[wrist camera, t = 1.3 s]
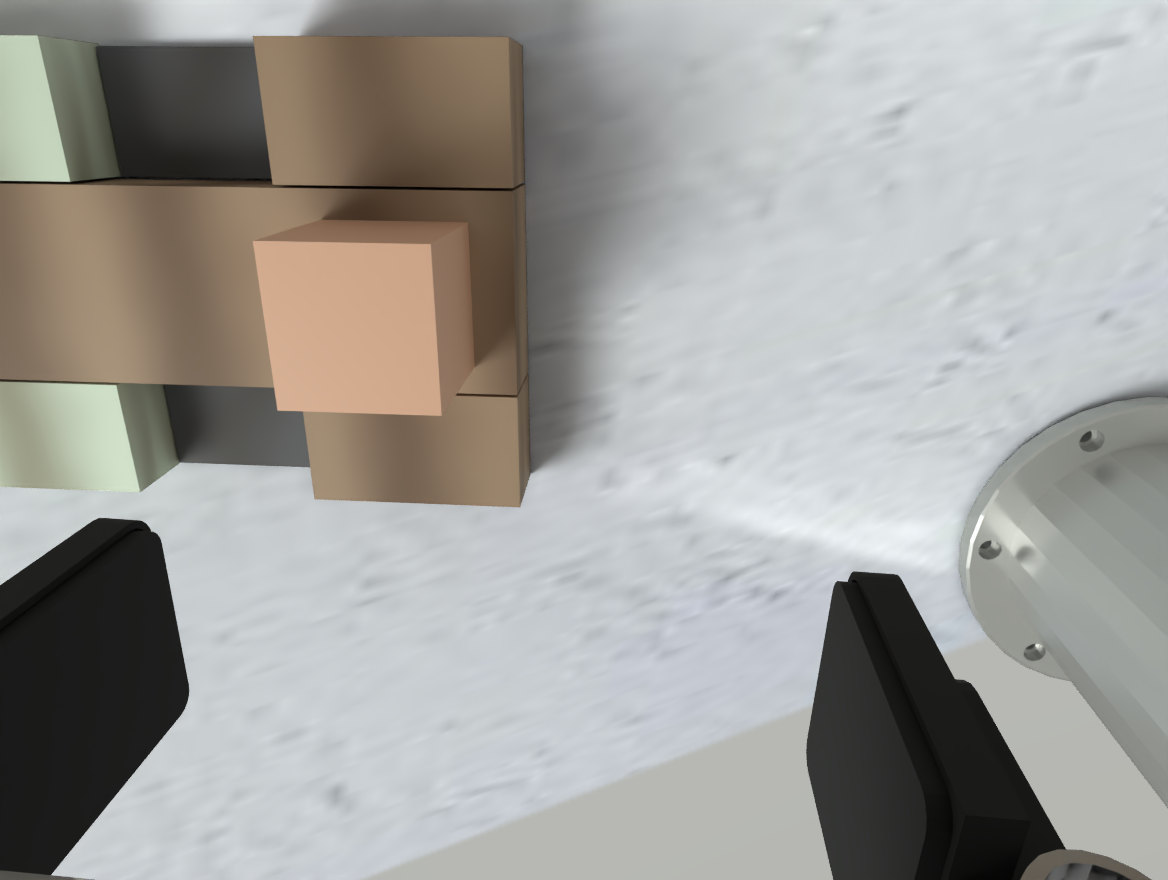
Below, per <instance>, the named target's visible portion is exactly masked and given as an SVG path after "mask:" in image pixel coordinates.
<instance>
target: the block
mask: <svg viewBox="0 0 1168 880" xmlns="http://www.w3.org/2000/svg"><path fill="white" fill-rule="evenodd" d="M253 246H254V253H255V260H256V267H257V273H258V280H259V287H260V294H261V301H262V308H263V314H264V321H265V328H266V335H267V342H268V349H269V356H270V362H271V369H272V376H273V383H274V390H275V397H276V403H277V410H278V411H305V412H336V413H367V414H397V415H428V416H442V415H443V413H444V412H445V410H446V409H447V407H448V406H449V404H450V403H451V401H452V400H453V398H454V397H455V395H456V394H457V392H458V391H459V390H460V388H461V387H462V385H463V384H464V382H465V381H466V379H467V378H468V376H469V375H470V373H471V372H472V370H473V369H474V367H475V363H474V340H473V318H472V296H471V274H470V252H469V230H468V222H424V221H367V220H318V221H315V222H312V223H309V224H305V225H302V226H299V227H296V228H292V229H289V230H286V231H283V232H280V233H276V234H273V235H270V236H267V237H263V238H260V239H257V240H254V241H253Z"/></svg>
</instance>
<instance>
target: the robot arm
mask: <svg viewBox="0 0 1168 880" xmlns="http://www.w3.org/2000/svg"><path fill="white" fill-rule="evenodd" d="M959 574H960V579H961V585H962V590H963V594H964V596H965V598H966V601H967V603H968V605H969V607H970V609H971V612H972V614H973V616H974V617H975V618H976V620H977V621H978V623H979V624H980V626H981V627H982V628H983V630H984V632H985V633H986V635H987V636H988V637H989V638H990V639H991V640H992V641H993V642H994V643H995V644H996V645H997V646H998V647H999V648H1000V649H1001V650H1002V651H1003V652H1004V653H1005V654H1007V655H1008V656H1009V657H1011V658H1012V659H1014V660H1015V661H1017V662H1018V663H1020V664H1021V665H1023V666H1025V667H1027V668H1029V669H1032V670H1034V671H1037V672H1040V673H1042V674H1044V675H1047V676H1049V677H1053V678H1058V679H1063V680H1067V681H1071V682H1072V683H1073V685H1074V686H1075V687H1076V689H1077V690H1078V691H1079V693H1080V694H1081V695H1082V696H1083V698H1084V699H1085V700H1086V702H1087V703H1088V704H1089V706H1090V707H1091V708H1092V710H1093V711H1094V712H1095V714H1096V715H1097V716H1098V717H1099V719H1100V720H1101V721H1102V723H1103V724H1104V725H1105V727H1106V728H1107V729H1108V731H1109V732H1110V733H1111V734H1112V736H1113V737H1114V738H1115V740H1116V741H1117V742H1118V744H1119V745H1120V746H1121V747H1122V749H1123V750H1124V751H1125V753H1126V754H1127V756H1128V757H1129V758H1130V759H1131V761H1132V762H1133V763H1134V765H1135V766H1136V767H1137V769H1138V770H1139V771H1140V772H1141V774H1142V775H1143V776H1144V778H1145V779H1146V780H1147V782H1148V783H1149V784H1150V786H1151V787H1152V788H1153V789H1154V791H1155V792H1156V794H1157V795H1158V796H1159V797H1160V799H1161V800H1162V801H1163V803H1164V804H1165V805H1166V806H1167V808H1168V397H1144V398H1137V399H1130V400H1122V401H1115V402H1112V403H1108V404H1105V405H1102V406H1099V407H1095V408H1092V409H1089V410H1085V411H1082V412H1080V413H1078V414H1076V415H1073V416H1071V417H1069V418H1067V419H1065V420H1063V421H1061V422H1059V423H1057V424H1055V425H1053V426H1051V427H1049V428H1047V429H1046V430H1044V431H1043V432H1042V433H1040V434H1039V435H1037V436H1036V437H1034V438H1033V439H1031V440H1030V441H1028V442H1027V443H1025V444H1024V445H1023V446H1021V447H1020V448H1019V449H1018V450H1017V451H1016V452H1015V453H1014V454H1013V455H1012V456H1011V457H1010V458H1009V459H1008V460H1006V461H1005V462H1004V463H1003V464H1002V465H1001V466H1000V467H999V468H998V469H997V471H996V472H995V473H994V475H993V476H992V477H991V479H990V480H989V481H988V482H987V484H986V485H985V486H984V488H983V489H982V490H981V492H980V493H979V495H978V497H977V499H976V501H975V503H974V505H973V507H972V509H971V511H970V513H969V515H968V517H967V520H966V523H965V527H964V531H963V534H962V538H961V542H960V551H959ZM188 697H189V684H188V679H187V674H186V668H185V663H184V658H183V653H182V647H181V642H180V637H179V632H178V626H177V621H176V616H175V611H174V605H173V600H172V595H171V590H170V584H169V579H168V574H167V569H166V563H165V558H164V553H163V548H162V543H161V540H160V537H159V536H158V535H157V534H156V533H154V532H151V530H150V528H149V527H148V525H147V524H146V523H144V522H143V521H138V520H124V519H110V518H98V519H96V520H94V521H92V522H91V523H89V524H88V525H86V526H85V527H83V528H82V529H81V530H79V531H78V532H76V533H75V534H73V535H72V536H70V537H69V538H68V539H66V540H65V541H63V542H62V543H60V544H59V545H58V546H56V547H55V548H53V549H52V550H50V551H49V552H47V553H46V554H45V555H43V556H42V557H40V558H39V559H37V560H36V561H35V562H33V563H32V564H30V565H29V566H27V567H26V568H24V569H23V570H22V571H20V572H19V573H17V574H16V575H14V576H13V577H12V578H10V579H9V580H7V581H6V582H4V583H3V584H1V585H0V880H93V879H83V878H72V877H62V876H52V875H51V874H52V873H53V872H54V870H55V869H56V868H57V867H58V866H59V864H60V863H61V862H62V861H63V859H64V858H65V857H66V856H67V854H68V853H69V852H70V851H71V850H72V848H73V847H74V846H75V845H76V843H77V842H78V841H79V840H80V839H81V837H82V836H83V835H84V834H85V832H86V831H87V830H88V829H89V827H90V826H91V825H92V824H93V823H94V821H95V820H96V819H97V818H98V816H99V815H100V814H101V813H102V811H103V810H104V809H105V808H106V807H107V805H108V804H109V803H110V802H111V800H112V799H113V798H114V797H115V795H116V794H117V793H118V792H119V791H120V789H121V788H122V787H123V786H124V784H125V783H126V782H127V781H128V779H129V778H130V777H131V776H132V775H133V773H134V772H135V771H136V770H137V768H138V767H139V766H140V765H141V764H142V762H143V761H144V760H145V759H146V757H147V756H148V755H149V754H150V752H151V751H152V750H153V749H154V748H155V746H156V745H157V744H158V743H159V741H160V740H161V739H162V738H163V736H164V735H165V734H166V733H167V732H168V730H169V729H170V728H171V727H172V725H173V724H174V723H175V722H176V720H177V719H178V718H179V717H180V716H181V714H182V712H183V711H184V709H185V707H186V704H187V701H188ZM806 751H807V752H806V753H807V767H808V772H809V776H810V781H811V785H812V789H813V794H814V797H815V803H816V807H817V811H818V815H819V820H820V824H821V828H822V833H823V837H824V841H825V846H826V850H827V854H828V858H829V863H830V867H831V871H832V875H833V880H1151V879H1150V878H1148V877H1147V876H1145V875H1144V874H1142V873H1141V872H1139V871H1137V870H1136V869H1134V868H1131V867H1129V866H1127V865H1124V864H1123V863H1120V862H1118V861H1116V860H1113V859H1111V858H1109V857H1106V856H1103V855H1099V854H1095V853H1091V852H1087V851H1083V850H1066V849H1065V847H1064V845H1063V843H1062V842H1061V840H1060V838H1059V836H1058V835H1057V833H1056V831H1055V829H1054V827H1053V826H1052V824H1051V822H1050V820H1049V818H1048V817H1047V815H1046V813H1045V811H1044V810H1043V808H1042V806H1041V804H1040V803H1039V801H1038V799H1037V797H1036V795H1035V793H1034V792H1033V790H1032V788H1031V787H1030V785H1029V783H1028V781H1027V779H1026V778H1025V776H1024V774H1023V772H1022V771H1021V769H1020V767H1019V765H1018V763H1017V762H1016V760H1015V758H1014V756H1013V755H1012V753H1011V751H1010V749H1009V747H1008V746H1007V744H1006V742H1005V740H1004V739H1003V737H1002V735H1001V733H1000V732H999V730H998V728H997V726H996V724H995V723H994V721H993V719H992V717H991V715H990V714H989V712H988V710H987V708H986V707H985V705H984V703H983V701H982V700H981V698H980V696H979V694H978V692H977V691H976V690H975V688H974V687H973V686H972V684H971V683H969V682H967V681H965V680H956V679H954V677H953V675H952V673H951V671H950V669H949V668H948V666H947V664H946V662H945V660H944V658H943V656H942V654H941V652H940V651H939V649H938V647H937V645H936V643H935V641H934V639H933V638H932V636H931V634H930V632H929V630H928V628H927V626H926V625H925V623H924V621H923V619H922V617H921V615H920V613H919V611H918V610H917V608H916V606H915V604H914V602H913V600H912V598H911V597H910V595H909V593H908V591H907V589H906V587H905V585H904V584H903V582H902V580H901V578H900V577H899V576H898V575H895V574H882V573H868V572H853V573H851V575H850V577H849V579H848V582H842V581H837V582H836V583H835V585H834V588H833V593H832V599H831V604H830V610H829V616H828V622H827V628H826V633H825V639H824V645H823V651H822V657H821V663H820V668H819V674H818V680H817V686H816V692H815V697H814V703H813V709H812V715H811V721H810V727H809V733H808V739H807V750H806Z"/></svg>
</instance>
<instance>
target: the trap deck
mask: <svg viewBox="0 0 1168 880" xmlns="http://www.w3.org/2000/svg"><path fill="white" fill-rule="evenodd" d="M253 40H254V47H135V46H98V44H95V43H88V42H81V41H74V40H67V39H59V38H52V37H45V36H38V35H0V487H21V488H46V489H72V490H97V491H122V492H141V491H142V490H144V489H145V488H147V487H148V486H149V485H151V484H152V483H153V482H155V481H156V480H157V479H159V478H160V477H161V476H163V475H164V474H165V473H167V472H168V471H169V470H171V469H172V468H174V467H175V466H176V465H178V464H179V463H180V462H184V463H211V464H238V465H265V466H292V467H310V468H311V476H312V483H313V491H314V498H315V499H325V500H350V501H376V502H401V503H426V504H452V505H477V506H502V507H520V505H521V502H522V499H523V496H524V493H525V490H526V487H527V483H528V480H529V477H530V429H529V375H528V321H527V266H526V212H525V184H521V183H523V182H525V158H524V104H523V50H522V45H521V44H519V43H518V42H516V41H514V40H513V39H511V38H509V37H375V36H253ZM118 176H128V177H198V178H267V179H272V181H251V180H182V179H113V178H109V177H118ZM318 220H367V221H424V222H468V230H469V252H470V274H471V296H472V318H473V340H474V363H475V367H474V369H473V370H472V372H471V373H470V375H469V376H468V378H467V379H466V381H465V382H464V384H463V385H462V387H461V388H460V390H459V391H458V392H457V394H456V395H455V397H454V398H453V400H452V401H451V403H450V404H449V406H448V407H447V409H446V410H445V412H444V413H443V415H442V416H428V415H397V414H367V413H336V412H305V411H278V410H277V403H276V397H275V390H274V383H273V376H272V369H271V362H270V356H269V349H268V342H267V335H266V328H265V321H264V314H263V308H262V301H261V294H260V287H259V280H258V273H257V267H256V260H255V253H254V246H253V241H254V240H257V239H260V238H263V237H267V236H270V235H273V234H276V233H280V232H283V231H286V230H289V229H292V228H296V227H299V226H302V225H305V224H309V223H312V222H315V221H318Z"/></svg>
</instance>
